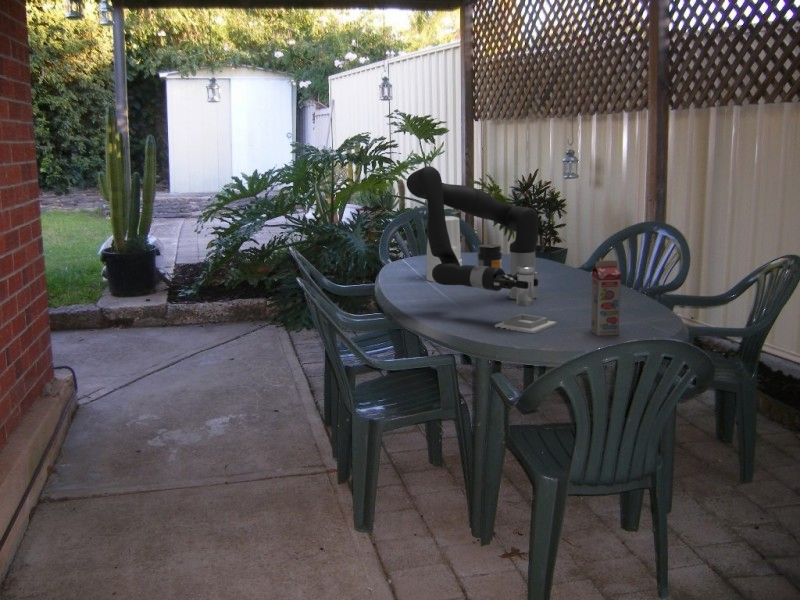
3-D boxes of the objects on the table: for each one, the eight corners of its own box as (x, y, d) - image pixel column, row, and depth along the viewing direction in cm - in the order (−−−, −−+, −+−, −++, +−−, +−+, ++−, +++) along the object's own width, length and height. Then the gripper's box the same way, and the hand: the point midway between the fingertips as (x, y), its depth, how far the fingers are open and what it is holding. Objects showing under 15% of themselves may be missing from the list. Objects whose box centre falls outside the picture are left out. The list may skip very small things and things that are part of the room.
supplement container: (507, 273, 353) (507, 246, 350) (486, 276, 348) (486, 248, 345) (492, 270, 362) (492, 243, 359) (472, 273, 356) (472, 245, 354)
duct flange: (518, 318, 272) (518, 311, 272) (556, 324, 263) (556, 317, 263) (495, 327, 262) (495, 320, 261) (533, 333, 253) (533, 326, 252)
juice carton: (590, 330, 255) (592, 259, 250) (611, 329, 255) (614, 258, 251) (597, 335, 249) (599, 263, 244) (618, 334, 249) (621, 262, 244)
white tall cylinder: (442, 274, 356) (441, 195, 349) (470, 277, 346) (470, 197, 339) (419, 279, 345) (417, 199, 338) (447, 283, 335) (446, 200, 328)
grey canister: (528, 302, 264) (529, 265, 262) (536, 305, 259) (537, 268, 257) (513, 303, 263) (513, 266, 260) (521, 307, 257) (521, 269, 255)
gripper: (474, 269, 262) (520, 275, 252) (499, 263, 273) (545, 269, 262) (474, 293, 264) (520, 299, 253) (499, 286, 275) (544, 292, 264)
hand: (532, 284), depth 258 cm, fingers closed on grey canister, 5 cm apart
